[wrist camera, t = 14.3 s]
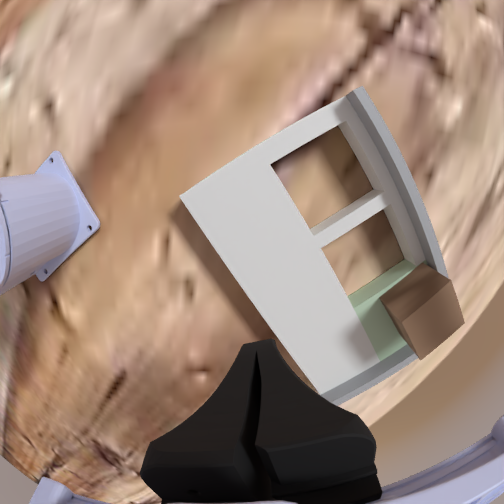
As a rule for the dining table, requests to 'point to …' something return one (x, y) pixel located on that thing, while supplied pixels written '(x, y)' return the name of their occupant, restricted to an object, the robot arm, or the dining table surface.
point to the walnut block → (423, 309)
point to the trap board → (319, 249)
